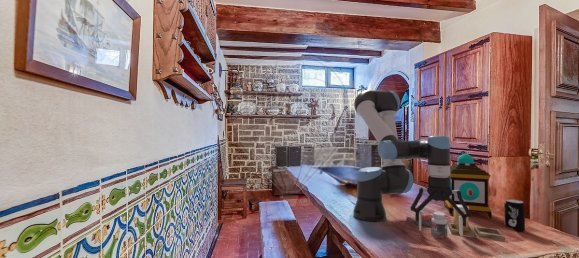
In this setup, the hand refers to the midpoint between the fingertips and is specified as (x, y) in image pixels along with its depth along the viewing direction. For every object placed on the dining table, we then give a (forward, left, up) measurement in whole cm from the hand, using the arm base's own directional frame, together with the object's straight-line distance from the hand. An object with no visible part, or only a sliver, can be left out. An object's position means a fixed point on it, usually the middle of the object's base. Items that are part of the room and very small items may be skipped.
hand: (440, 232), depth 101 cm
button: (-4, +14, -2) cm, 15 cm away
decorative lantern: (+16, +45, -3) cm, 48 cm away
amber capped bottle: (+8, +9, -2) cm, 13 cm away
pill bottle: (0, 0, -3) cm, 3 cm away
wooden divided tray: (+13, +9, -3) cm, 16 cm away
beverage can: (+30, +25, -3) cm, 39 cm away
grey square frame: (-4, +14, -3) cm, 15 cm away
